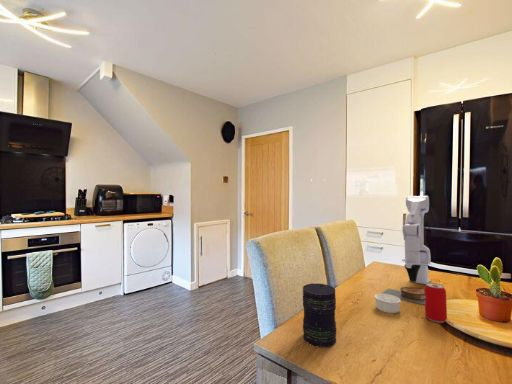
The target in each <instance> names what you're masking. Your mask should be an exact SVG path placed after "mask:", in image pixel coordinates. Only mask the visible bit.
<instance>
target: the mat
mask: <svg viewBox="0 0 512 384" xmlns="http://www.w3.org/2000/svg"><path fill="white" fill-rule="evenodd" d="M380 294H389V295H393V296H396V297H398V298H399V299H400V300H401V301H405V302H409V303H414V304H418V305H422V306H425V300H416V299H410V298H406V297H404V296H403V295H402V294H401V290H398V289H393V288H387V289H385V290H384V291H383V292H381V293H380Z"/></svg>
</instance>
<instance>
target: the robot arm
mask: <svg viewBox="0 0 512 384" xmlns="http://www.w3.org/2000/svg"><path fill="white" fill-rule="evenodd" d="M405 206H406V209H407V211H408V212H409V213H408V214H407V215H406V219H405V223H404V224H403V225H402V235H403V236H402V237H403V241H404V258H403V259H401V261H402V262H404V263H405V264H404V265H403V266H404V268H405V270H406V273H407V274H408V276H407V277H408V282H412V283H417V284H422V285H426V283H431V279H429V268H428V265H430V264H431V260H432V257H431V250H430V248H429V247H427V245H424V242H425V241H424V240H425V239H424V237H425V235H424V234H425V233H424V217H425V214H426V213H428V212H429V211H430V210H429V209H430V198H429V196H428V195H418V196H417V195H407V196H406V197H405Z"/></svg>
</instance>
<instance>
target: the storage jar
mask: <svg viewBox="0 0 512 384" xmlns="http://www.w3.org/2000/svg"><path fill="white" fill-rule="evenodd" d="M336 299H337V298H336V289H335V287H333V286H331V285H329V284H325V283H324V284H323V283H307V284H305V285H303V287H302V307H303V318H302V331H303V335H302V336H303V337H304V338H303V337H302V338H303V340H304V342H306V343H307V342H308V343H309V344H308V343H307V344H308V345H310V344H311V345H310V346H312V345H313V346H312V347H315V346H318V347H317V348H319V347H322V348H321V349H326V347H327V348H331V347H333V346H335V345H336V343H337V322H336V310H337V309H336V308H337V306H336V303H337V300H336ZM323 347H324V348H323Z"/></svg>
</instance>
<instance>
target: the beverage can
mask: <svg viewBox="0 0 512 384" xmlns="http://www.w3.org/2000/svg"><path fill="white" fill-rule="evenodd" d="M423 288H424V293H425V305H424V315H425V316H424V317H426V318H427V320H430V321H431V322H433V323H439V324H442V323H445V322H447V321H446V319H447V320H448V314H447V313H448V309H447V307H448V306H447V291H446V288H445V286H444V284H440V283H437V282H436V283H435V282H429V283H426V284H425V285H424V287H423Z"/></svg>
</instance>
